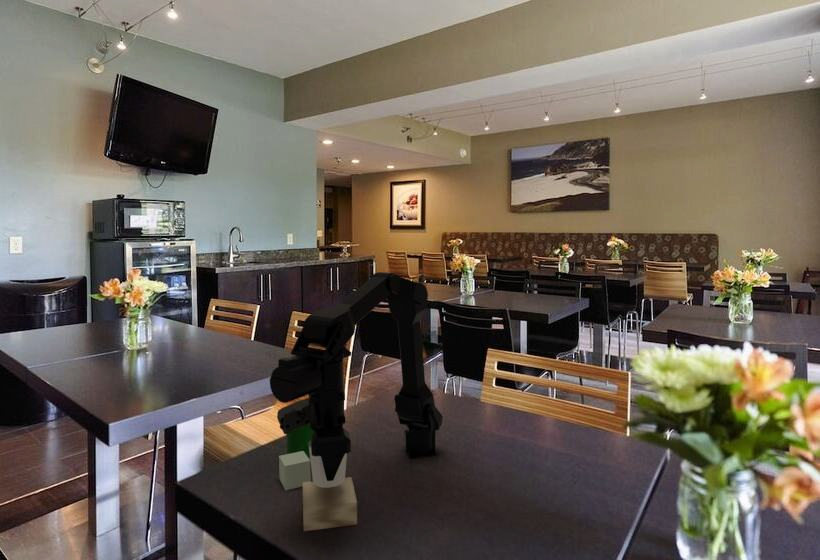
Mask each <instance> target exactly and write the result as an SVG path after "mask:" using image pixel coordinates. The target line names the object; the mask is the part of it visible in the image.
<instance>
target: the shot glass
mask: <svg viewBox="0 0 820 560" xmlns="http://www.w3.org/2000/svg"><path fill="white" fill-rule="evenodd" d="M308 444H309V452H310V460H311V463H310V470H311V476H312V481H313V483H314V484H315V485H316V486H319V487H324V488H329V487H335V486H338V485H340V484H341V483H343V482H344V480H345V478H346V469H347V457H348V455H347V454H348V453H346V454H345V455H344V457H343V459H342V461H341V464H340V466H339V468H338V471H337V473H336V475H335V477H334V480H333V481H327V479H326V475H325V471H324V467H323V463H322V459H321V456H316V457H315V456H312V453H311V440H310V442H309V443H308Z"/></svg>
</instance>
